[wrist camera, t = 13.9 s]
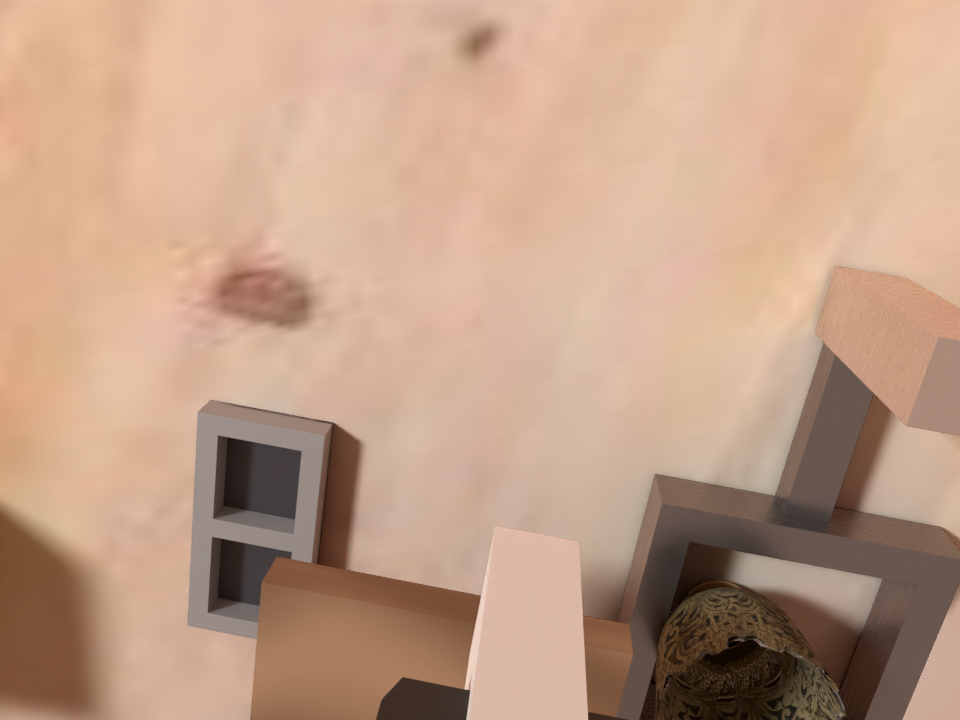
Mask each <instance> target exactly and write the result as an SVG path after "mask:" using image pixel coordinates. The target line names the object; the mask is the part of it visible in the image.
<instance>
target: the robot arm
mask: <svg viewBox="0 0 960 720" xmlns="http://www.w3.org/2000/svg"><path fill="white" fill-rule="evenodd" d="M376 720H628V719H622V718H617V717H612V716H607V715H602V714H597V713H592V712H588V707H587V688H586V668H585V649H584V630H583V611H582V592H581V573H580V554H579V542H576V541H571V540H566V539H561V538H556V537H551V536H546V535H540V534H535V533H530V532H525V531H520V530H515V529H510V528H504V527H499V526H495V529H494V534H493V539H492V544H491V549H490V555H489V560H488V565H487V570H486V575H485V580H484V585H483V590H482V595H481V600H480V605H479V610H478V615H477V620H476V625H475V630H474V635H473V640H472V645H471V650H470V656H469V662H468V669H467V676H466V683H465V689H460V688H455V687H450V686H445V685H440V684H435V683H430V682H425V681H420V680H415V679H410V678H405V677H402V678H401V679H400V680H399V682H398V683H397V684H396V685H395V686H394V687H393V688H392V689H391V690H390V691H389V692H388V693H387V694H386V695H385V696H384V697H383V699H382V700H381V703H380V707H379V710H378V714H377V717H376Z"/></svg>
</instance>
